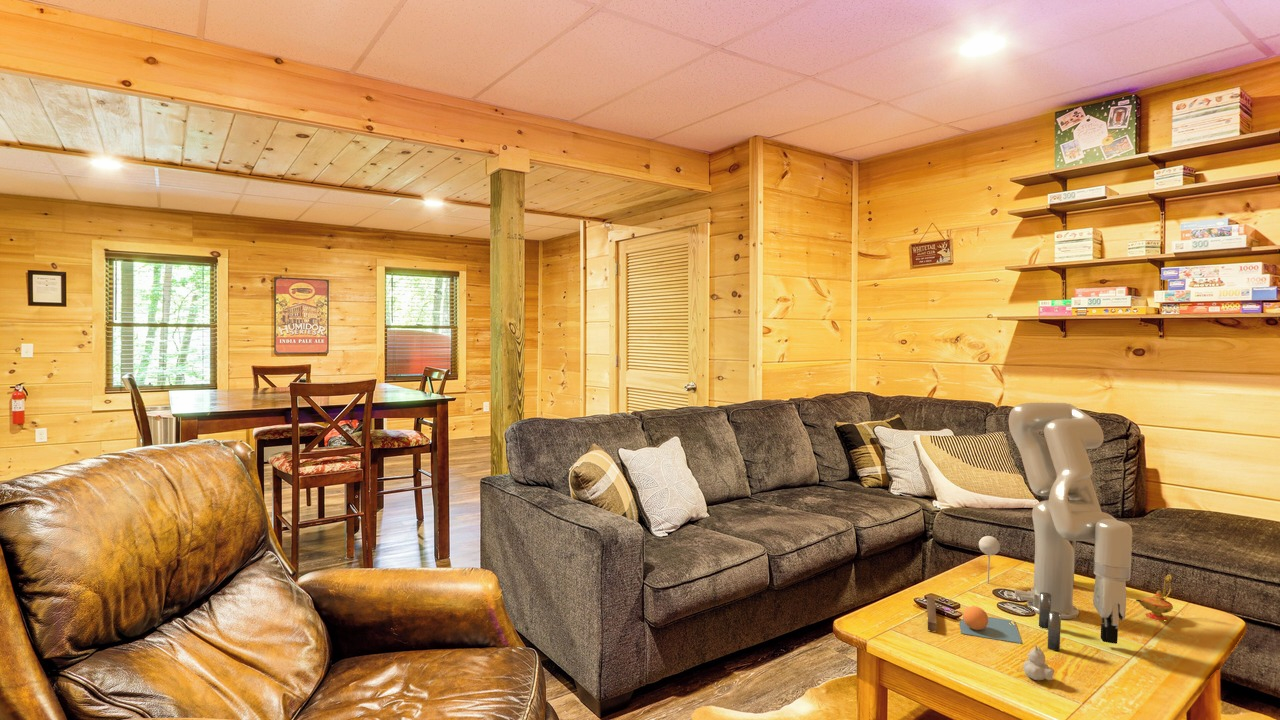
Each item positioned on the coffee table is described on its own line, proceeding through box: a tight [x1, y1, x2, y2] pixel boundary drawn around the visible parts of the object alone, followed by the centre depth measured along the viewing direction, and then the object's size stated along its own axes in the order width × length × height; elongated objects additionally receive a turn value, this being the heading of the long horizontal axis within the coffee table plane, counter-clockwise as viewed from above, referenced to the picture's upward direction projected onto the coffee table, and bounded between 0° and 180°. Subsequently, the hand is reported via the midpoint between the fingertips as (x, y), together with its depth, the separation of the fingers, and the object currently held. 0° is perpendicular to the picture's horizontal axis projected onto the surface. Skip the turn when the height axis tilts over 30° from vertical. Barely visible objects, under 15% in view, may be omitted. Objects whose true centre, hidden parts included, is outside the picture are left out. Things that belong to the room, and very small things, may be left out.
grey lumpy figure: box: [1022, 643, 1055, 681], centre depth 151 cm, size 5×7×8 cm
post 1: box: [1038, 592, 1051, 629], centre depth 177 cm, size 3×3×9 cm
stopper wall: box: [926, 596, 937, 632], centre depth 182 cm, size 2×18×2 cm, turn 157°
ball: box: [962, 605, 989, 630], centre depth 176 cm, size 6×6×6 cm
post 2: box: [1047, 611, 1062, 652], centre depth 165 cm, size 3×3×9 cm
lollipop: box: [978, 535, 1001, 584], centre depth 208 cm, size 6×6×15 cm
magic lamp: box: [1135, 574, 1174, 622], centre depth 183 cm, size 7×18×11 cm, turn 118°
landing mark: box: [958, 616, 1023, 645], centre depth 177 cm, size 14×14×1 cm
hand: (1108, 641), depth 166 cm, fingers closed
